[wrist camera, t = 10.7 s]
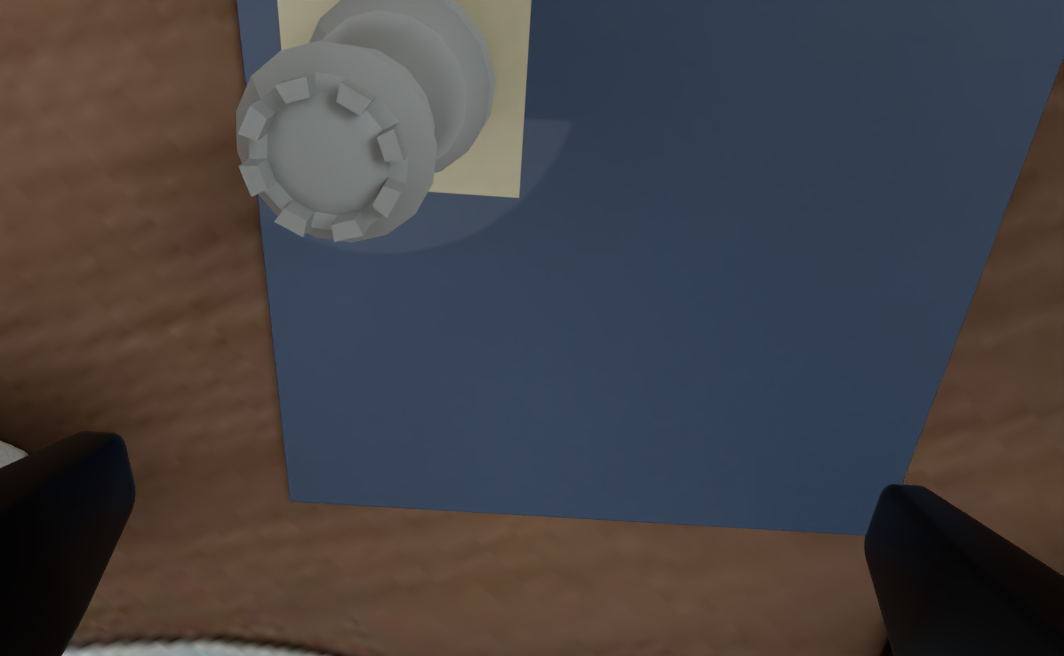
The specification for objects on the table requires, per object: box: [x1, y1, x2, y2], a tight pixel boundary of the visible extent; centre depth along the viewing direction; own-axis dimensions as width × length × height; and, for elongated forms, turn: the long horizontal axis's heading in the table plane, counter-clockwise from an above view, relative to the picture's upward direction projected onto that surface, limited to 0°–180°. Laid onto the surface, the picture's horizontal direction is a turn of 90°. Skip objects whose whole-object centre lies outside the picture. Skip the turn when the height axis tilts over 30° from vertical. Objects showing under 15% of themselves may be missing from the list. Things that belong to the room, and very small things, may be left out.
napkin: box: [236, 0, 1064, 535], centre depth 21 cm, size 18×20×1 cm
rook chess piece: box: [236, 0, 496, 243], centre depth 15 cm, size 4×4×8 cm
